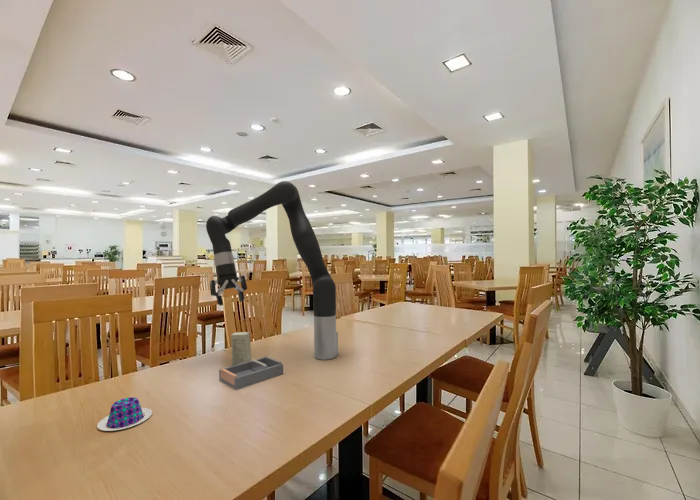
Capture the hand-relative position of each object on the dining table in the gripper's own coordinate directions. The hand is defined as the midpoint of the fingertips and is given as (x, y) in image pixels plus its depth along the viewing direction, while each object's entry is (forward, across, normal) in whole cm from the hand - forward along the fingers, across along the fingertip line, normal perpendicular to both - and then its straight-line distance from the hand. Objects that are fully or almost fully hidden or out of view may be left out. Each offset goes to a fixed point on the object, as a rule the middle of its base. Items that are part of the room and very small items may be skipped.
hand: (231, 303), depth 134 cm
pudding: (+26, -42, -20) cm, 53 cm away
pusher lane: (+27, -4, -16) cm, 32 cm away
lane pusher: (+26, -1, -16) cm, 31 cm away
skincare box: (+24, -1, -1) cm, 24 cm away
